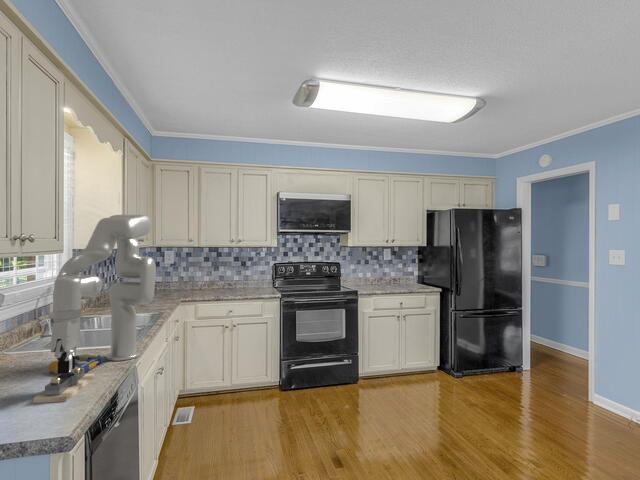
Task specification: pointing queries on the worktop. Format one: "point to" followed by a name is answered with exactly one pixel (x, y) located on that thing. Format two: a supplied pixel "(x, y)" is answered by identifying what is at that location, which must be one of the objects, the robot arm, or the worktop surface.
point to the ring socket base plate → (63, 387)
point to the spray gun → (80, 363)
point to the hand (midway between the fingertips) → (66, 370)
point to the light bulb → (69, 364)
